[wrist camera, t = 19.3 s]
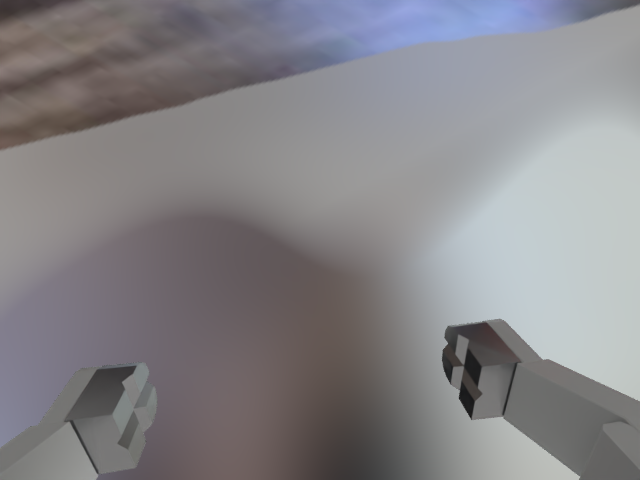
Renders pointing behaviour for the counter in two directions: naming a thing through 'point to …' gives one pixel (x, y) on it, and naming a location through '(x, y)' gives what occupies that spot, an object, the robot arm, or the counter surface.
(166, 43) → the counter surface
